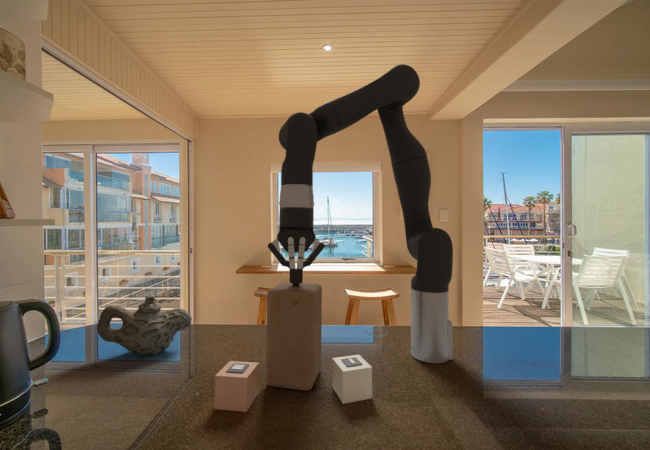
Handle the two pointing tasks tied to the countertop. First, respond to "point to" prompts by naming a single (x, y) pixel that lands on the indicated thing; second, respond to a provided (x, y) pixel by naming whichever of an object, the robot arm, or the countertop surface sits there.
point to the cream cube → (351, 378)
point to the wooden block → (293, 335)
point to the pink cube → (236, 386)
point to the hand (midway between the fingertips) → (295, 285)
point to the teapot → (143, 326)
